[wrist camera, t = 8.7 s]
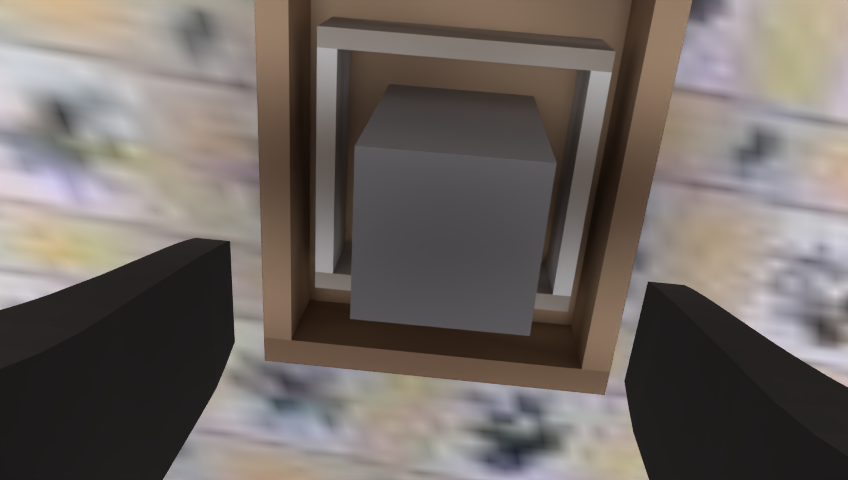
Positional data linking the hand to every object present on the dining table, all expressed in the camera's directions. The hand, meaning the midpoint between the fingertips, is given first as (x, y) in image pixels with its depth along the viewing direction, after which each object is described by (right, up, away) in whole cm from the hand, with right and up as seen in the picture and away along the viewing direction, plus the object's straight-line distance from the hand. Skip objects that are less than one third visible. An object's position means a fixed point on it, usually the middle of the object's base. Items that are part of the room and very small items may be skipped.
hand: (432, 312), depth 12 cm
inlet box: (+1, +4, +9) cm, 9 cm away
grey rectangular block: (+1, +4, +8) cm, 9 cm away
